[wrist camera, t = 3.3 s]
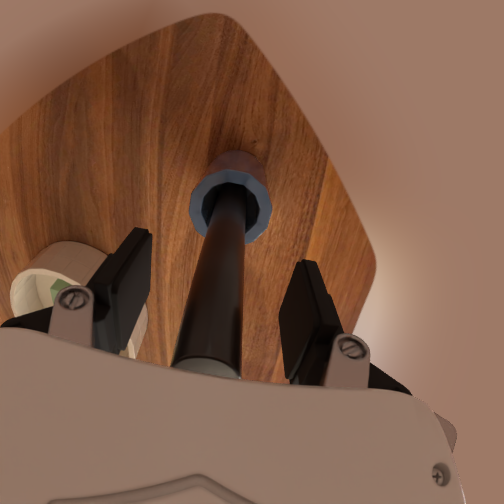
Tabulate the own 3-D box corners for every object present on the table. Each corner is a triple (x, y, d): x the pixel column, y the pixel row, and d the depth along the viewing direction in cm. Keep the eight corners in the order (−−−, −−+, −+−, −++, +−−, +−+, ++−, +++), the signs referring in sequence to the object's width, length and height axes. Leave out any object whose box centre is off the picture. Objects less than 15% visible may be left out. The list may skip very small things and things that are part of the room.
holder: (212, 144, 24) (196, 163, 17) (271, 156, 24) (280, 180, 17) (202, 199, 26) (184, 239, 19) (257, 210, 27) (260, 253, 20)
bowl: (24, 229, 27) (-4, 253, 22) (148, 257, 29) (130, 291, 24) (48, 330, 35) (31, 357, 30) (149, 361, 37) (139, 394, 32)
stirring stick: (226, 166, 24) (169, 349, 7) (249, 171, 25) (248, 362, 7) (221, 188, 25) (168, 390, 8) (244, 192, 25) (234, 401, 8)
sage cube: (65, 268, 29) (49, 288, 26) (93, 276, 30) (78, 297, 26) (70, 295, 31) (55, 315, 28) (96, 302, 31) (83, 324, 28)
